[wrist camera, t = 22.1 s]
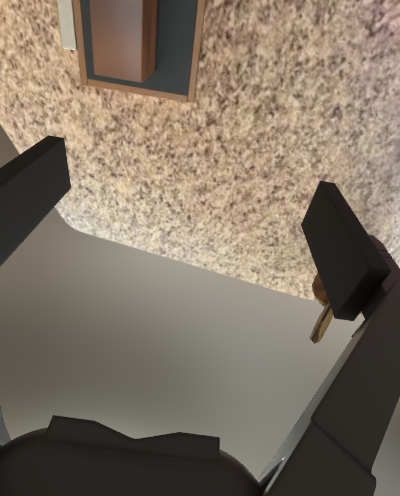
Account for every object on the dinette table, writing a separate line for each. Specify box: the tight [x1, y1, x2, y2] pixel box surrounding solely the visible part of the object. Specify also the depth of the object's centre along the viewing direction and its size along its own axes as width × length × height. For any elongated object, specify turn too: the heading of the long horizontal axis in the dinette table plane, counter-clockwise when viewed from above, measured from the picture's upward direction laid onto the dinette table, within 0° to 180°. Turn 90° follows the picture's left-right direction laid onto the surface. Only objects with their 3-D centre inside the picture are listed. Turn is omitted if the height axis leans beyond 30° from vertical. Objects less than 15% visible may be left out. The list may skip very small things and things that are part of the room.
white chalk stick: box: [57, 0, 78, 50], centre depth 33 cm, size 5×1×2 cm
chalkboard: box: [73, 0, 206, 103], centre depth 31 cm, size 18×14×1 cm
